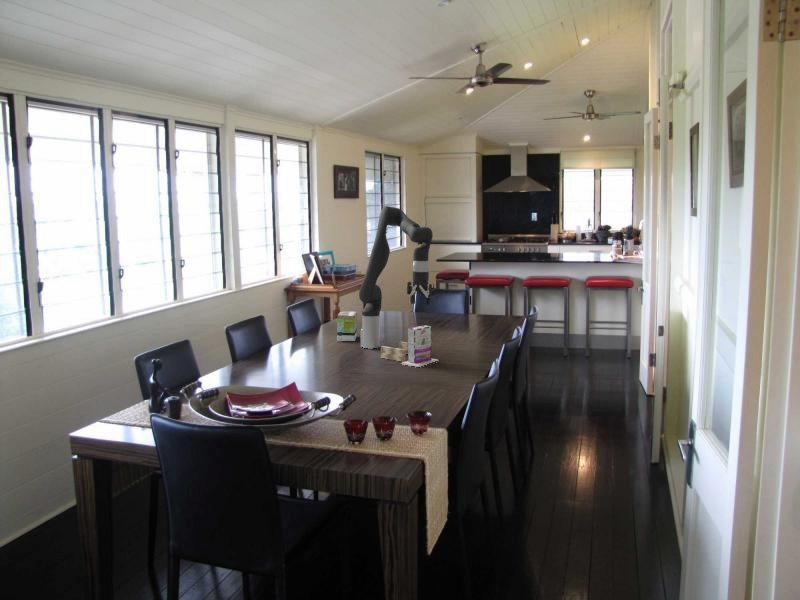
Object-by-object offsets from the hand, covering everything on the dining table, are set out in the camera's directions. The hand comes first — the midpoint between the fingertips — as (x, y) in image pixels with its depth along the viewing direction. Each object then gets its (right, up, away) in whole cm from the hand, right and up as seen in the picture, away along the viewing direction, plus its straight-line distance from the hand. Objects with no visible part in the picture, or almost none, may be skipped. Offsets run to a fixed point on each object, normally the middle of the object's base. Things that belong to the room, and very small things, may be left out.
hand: (420, 304), depth 320 cm
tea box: (-39, -20, +60) cm, 75 cm away
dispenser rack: (-9, -26, +15) cm, 31 cm away
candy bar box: (0, -27, +4) cm, 27 cm away
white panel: (0, -28, +4) cm, 28 cm away
